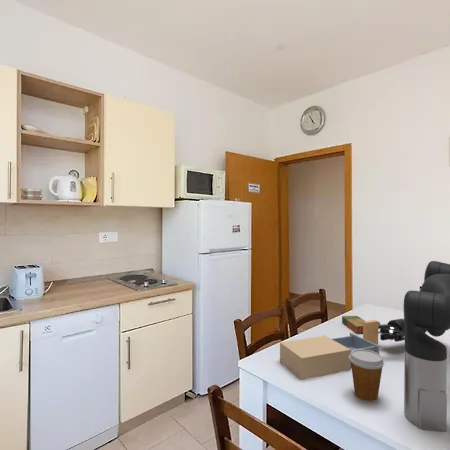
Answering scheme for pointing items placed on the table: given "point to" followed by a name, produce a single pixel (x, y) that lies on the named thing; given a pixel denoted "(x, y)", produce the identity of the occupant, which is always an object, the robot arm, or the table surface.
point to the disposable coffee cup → (366, 373)
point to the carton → (353, 323)
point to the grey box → (364, 343)
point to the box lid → (314, 356)
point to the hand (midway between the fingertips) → (372, 333)
